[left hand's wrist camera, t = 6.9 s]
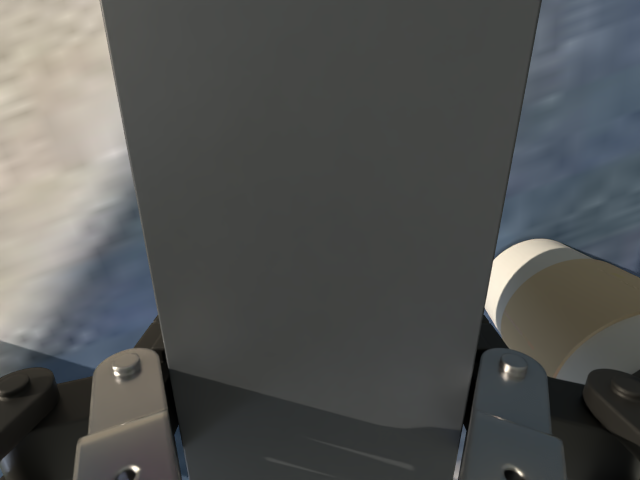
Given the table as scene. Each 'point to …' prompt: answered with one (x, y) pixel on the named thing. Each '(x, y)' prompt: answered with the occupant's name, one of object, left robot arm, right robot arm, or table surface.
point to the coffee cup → (566, 309)
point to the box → (320, 219)
